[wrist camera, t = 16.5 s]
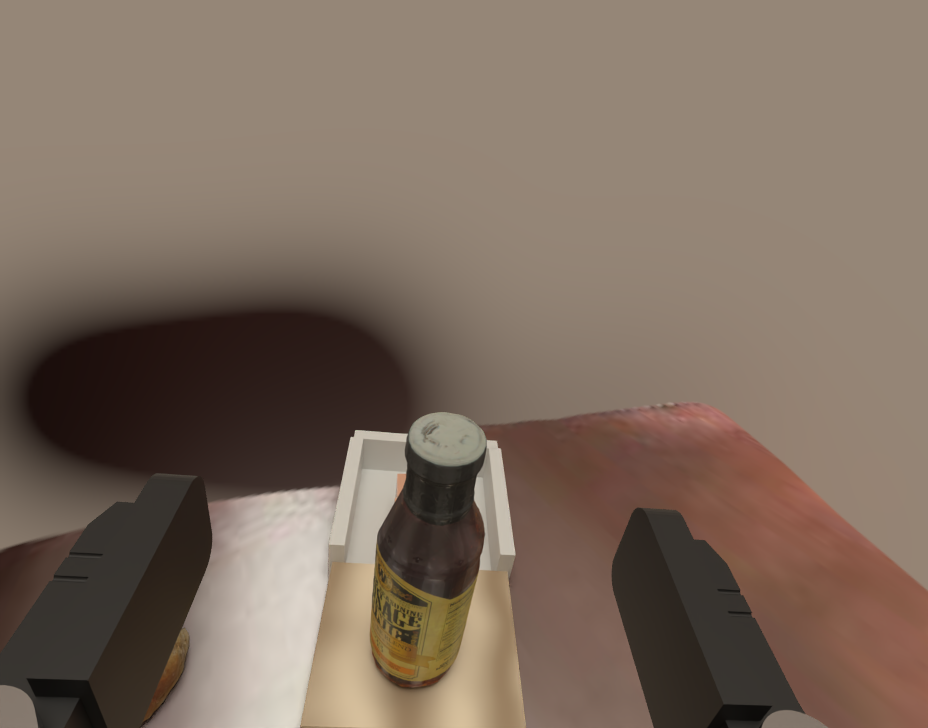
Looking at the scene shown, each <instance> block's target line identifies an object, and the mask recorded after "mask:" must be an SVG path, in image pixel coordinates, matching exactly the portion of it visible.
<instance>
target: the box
mask: <svg viewBox="0 0 928 728" xmlns="http://www.w3.org/2000/svg"><path fill="white" fill-rule="evenodd" d="M407 435H408V434H399V433H385V432H373V431H360V430H355V435H354V437H351V439H350V444H349V449H348V454H347V459H346V463H345V468H344V473H343V477H342V482H341V487H340V492H339V497H338V501H337V506H336V511H335V516H334V521H333V525H332V530H331V535H330V540H329V555H328V582H329V576H330V571H331V566H332V562H345V563H363V564H375V554H376V543H377V535H378V531H379V529H380V527H381V526H382V524H383V522H384V520H385V519H386V517H387V515H388V513H389V512H390V510H391V508H392V506H393V505H394V501H395V495H396V484H397V474H406V471H407V461H406V458H405V445H406V439H407ZM486 441H487V448H486V455H485V460H484V464H483V467H482V468H481V470H480V471H479V473H478V474H477V478H476V483H475V488H474V491H475V494H474V501H475V503H476V505H477V507H478V508H479V511H480V513H481V515H482V519H483V522H484V528H485V537H484V545H483V551H482V554H481V556H480V568H479V570H490V571H507V572H508V581H509V577H510V574H511V570H512V566H513V562H514V559H515V549H514V541H513V534H512V527H511V519H510V512H509V505H508V498H507V490H506V483H505V476H504V468H503V461H502V454H501V449H499V448H498V446H497V441H489V440H486Z"/></svg>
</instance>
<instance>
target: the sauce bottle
mask: <svg viewBox="0 0 928 728" xmlns="http://www.w3.org/2000/svg"><path fill="white" fill-rule="evenodd" d="M486 448H487V441H486V437H485V434H484V432H483V430H482V429H481V428H480V427H479V426H478V425H476V424H475V423H474V422H473V421H472V420H470V419H469V418H467V417H464V416H462V415H458V414H452V413H447V412H438V413H432V414H428V415H425V416H423V417H421V418H419V419H418V420H417V421H415V422H414V423H413V425H412V427H411V428H410V430H409V432H408V435H407V439H406V445H405V458H406V461H407V471H406V480H405V483H404V486H403V489H402V490H401V492H400V494H399V496H398V497H397V499H396V501H395V503H394V505H393V506H392V508H391V510H390V512H389V513H388V515H387V517H386V519H385V520H384V522H383V524H382V526H381V527H380V529H379V531H378V535H377V543H376V554H375V568H374V578H373V593H372V610H371V623H370V644H371V648H372V655H373V657H374V661H375V664H376V667H377V668H378V669H379V670H380V671H381V672H382V673H383V674H384V675H385V676H386V677H387V678H388V679H390V680H391V681H393V682H395V683H396V684H398V685H400V686H402V687H407V688H415V687H422V686H427V685H431V684H433V683H436V682H438V681H439V680H440V679H441V678H442V677H443V676H444V675H445V674H446V673H447V671H448V670H449V669H450V667H451V666H452V664H453V663H454V661H455V659H456V657H457V655H458V652H459V649H460V646H461V642H462V638H463V634H464V630H465V626H466V622H467V617H468V613H469V609H470V605H471V601H472V596H473V593H474V589H475V585H476V581H477V577H478V573H479V568H480V556H481V554H482V551H483V545H484V537H485V528H484V522H483V519H482V515H481V513H480V511H479V508H478V507H477V505H476V503H475V501H474V494H475V491H474V488H475V483H476V478H477V474H478V473H479V471H480V470H481V468H482V467H483V464H484V460H485V455H486Z"/></svg>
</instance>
